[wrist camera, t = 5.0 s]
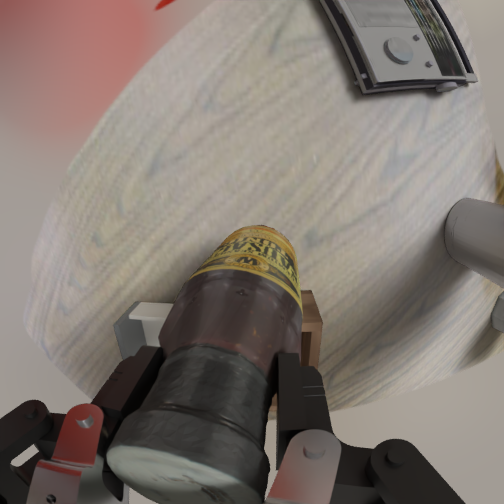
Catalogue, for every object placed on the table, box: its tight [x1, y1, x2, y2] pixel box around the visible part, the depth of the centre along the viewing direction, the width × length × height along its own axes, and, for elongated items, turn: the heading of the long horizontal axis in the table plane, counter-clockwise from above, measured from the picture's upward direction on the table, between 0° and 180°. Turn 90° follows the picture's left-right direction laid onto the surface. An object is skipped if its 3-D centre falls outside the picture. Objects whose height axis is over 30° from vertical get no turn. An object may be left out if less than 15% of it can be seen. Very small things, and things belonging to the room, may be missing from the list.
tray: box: [113, 302, 173, 360], centre depth 32 cm, size 13×10×6 cm
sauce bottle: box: [107, 225, 303, 504], centre depth 14 cm, size 6×6×20 cm
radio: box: [319, 0, 478, 95], centre depth 21 cm, size 24×5×20 cm
